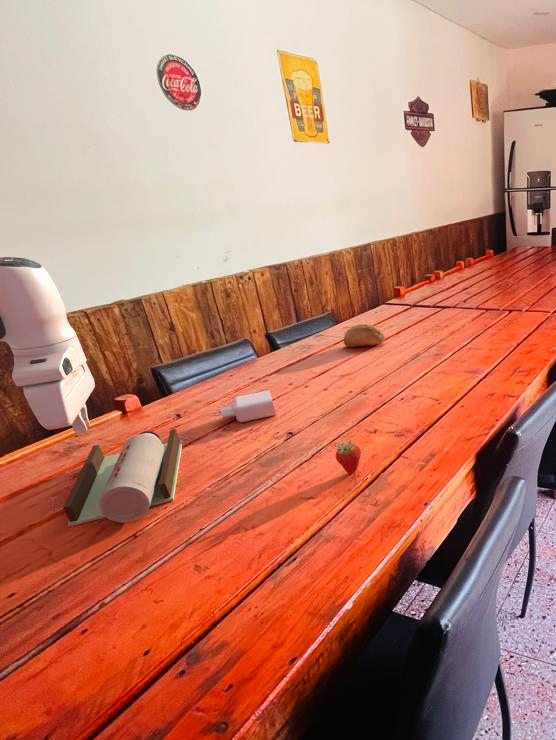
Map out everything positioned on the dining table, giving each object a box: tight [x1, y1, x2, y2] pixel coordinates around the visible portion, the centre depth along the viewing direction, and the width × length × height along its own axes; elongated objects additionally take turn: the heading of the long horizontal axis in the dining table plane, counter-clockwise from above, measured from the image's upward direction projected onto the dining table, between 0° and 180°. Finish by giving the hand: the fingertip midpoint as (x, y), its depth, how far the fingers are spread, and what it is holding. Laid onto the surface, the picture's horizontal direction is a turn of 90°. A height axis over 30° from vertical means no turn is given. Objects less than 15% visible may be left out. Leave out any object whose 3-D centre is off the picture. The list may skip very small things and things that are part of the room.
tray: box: [62, 428, 183, 527], centre depth 111 cm, size 18×28×4 cm, turn 24°
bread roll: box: [343, 323, 385, 348], centre depth 189 cm, size 10×15×8 cm, turn 98°
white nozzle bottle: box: [212, 390, 277, 423], centre depth 138 cm, size 5×9×15 cm
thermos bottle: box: [99, 430, 165, 523], centre depth 107 cm, size 8×8×28 cm
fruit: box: [334, 439, 362, 475], centre depth 109 cm, size 5×5×8 cm
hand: (83, 430), depth 92 cm, fingers closed
